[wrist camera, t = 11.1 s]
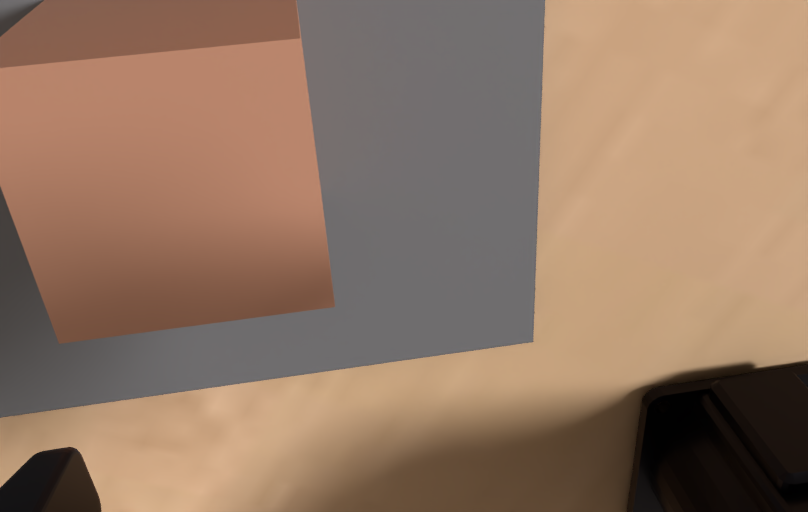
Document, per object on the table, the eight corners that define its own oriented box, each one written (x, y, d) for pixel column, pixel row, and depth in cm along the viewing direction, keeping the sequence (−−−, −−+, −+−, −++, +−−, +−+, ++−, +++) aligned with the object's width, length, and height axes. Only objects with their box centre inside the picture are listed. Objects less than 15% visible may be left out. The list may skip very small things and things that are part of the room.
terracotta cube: (321, 191, 18) (335, 306, 14) (110, 215, 18) (59, 343, 14) (293, -24, 16) (300, 38, 11) (45, -2, 15) (-42, 72, 11)
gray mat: (528, 331, 22) (532, 342, 22) (-41, 411, 21) (-47, 424, 20) (549, -367, 14) (557, -372, 13) (-398, -318, 12) (-421, -323, 12)
